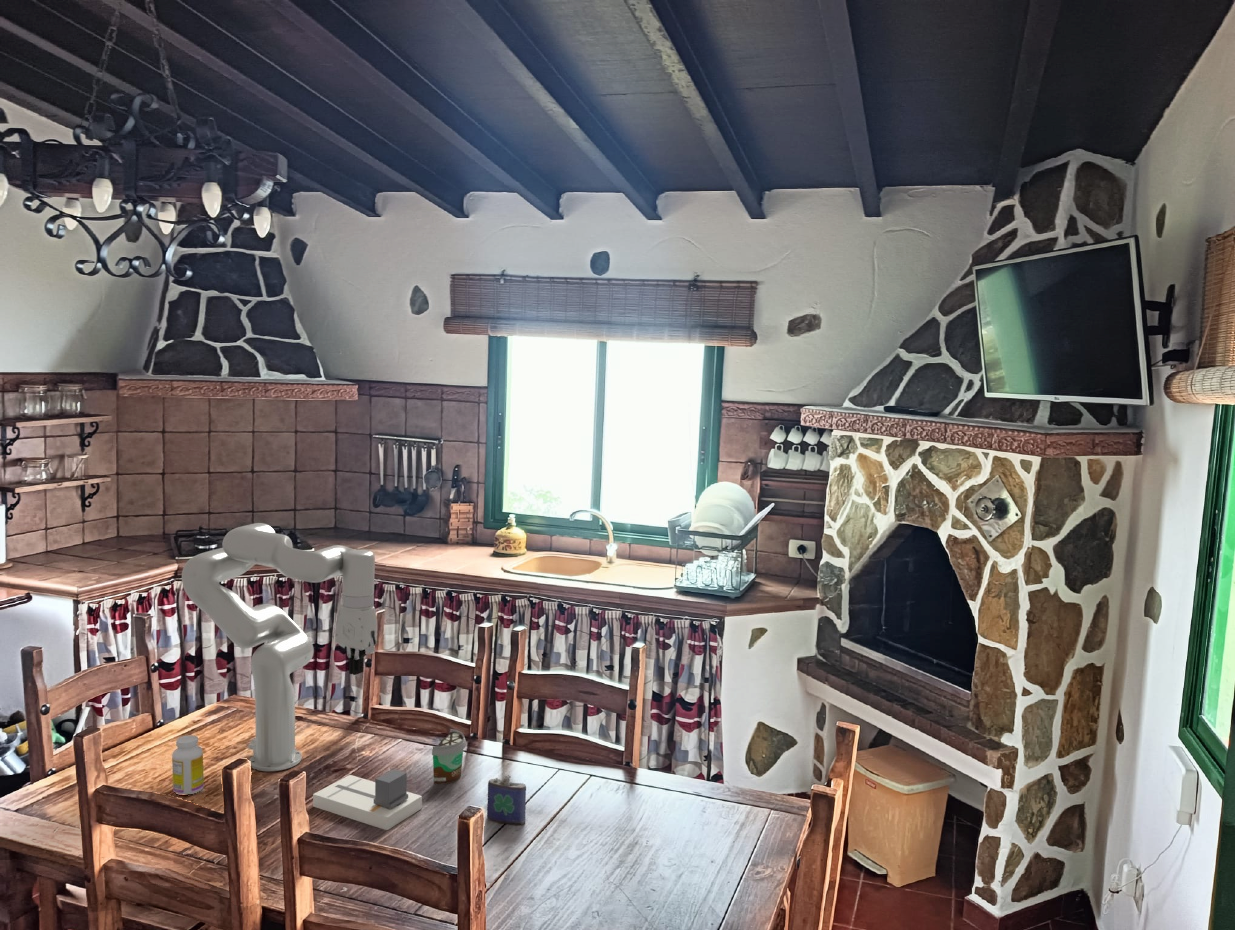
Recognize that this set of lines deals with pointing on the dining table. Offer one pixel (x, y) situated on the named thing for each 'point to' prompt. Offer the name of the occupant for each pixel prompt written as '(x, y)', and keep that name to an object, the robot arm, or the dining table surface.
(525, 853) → the dining table surface
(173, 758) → the supplement bottle
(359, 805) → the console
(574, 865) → the dining table surface
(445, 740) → the food container
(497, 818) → the flask
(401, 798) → the fader tab
